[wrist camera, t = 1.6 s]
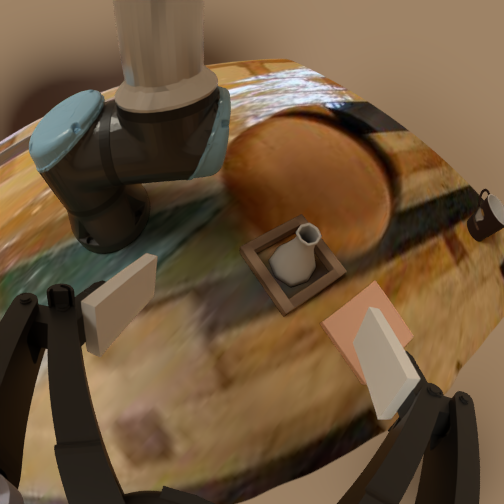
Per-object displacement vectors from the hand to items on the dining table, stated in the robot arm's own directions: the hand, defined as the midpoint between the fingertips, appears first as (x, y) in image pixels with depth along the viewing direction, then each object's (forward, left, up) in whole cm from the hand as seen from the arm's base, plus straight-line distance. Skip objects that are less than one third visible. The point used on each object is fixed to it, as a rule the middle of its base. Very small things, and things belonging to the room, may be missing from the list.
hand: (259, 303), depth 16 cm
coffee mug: (+12, +63, -24) cm, 68 cm away
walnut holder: (-6, +14, -24) cm, 28 cm away
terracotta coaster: (+10, +18, -24) cm, 31 cm away
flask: (-6, +14, -24) cm, 28 cm away
